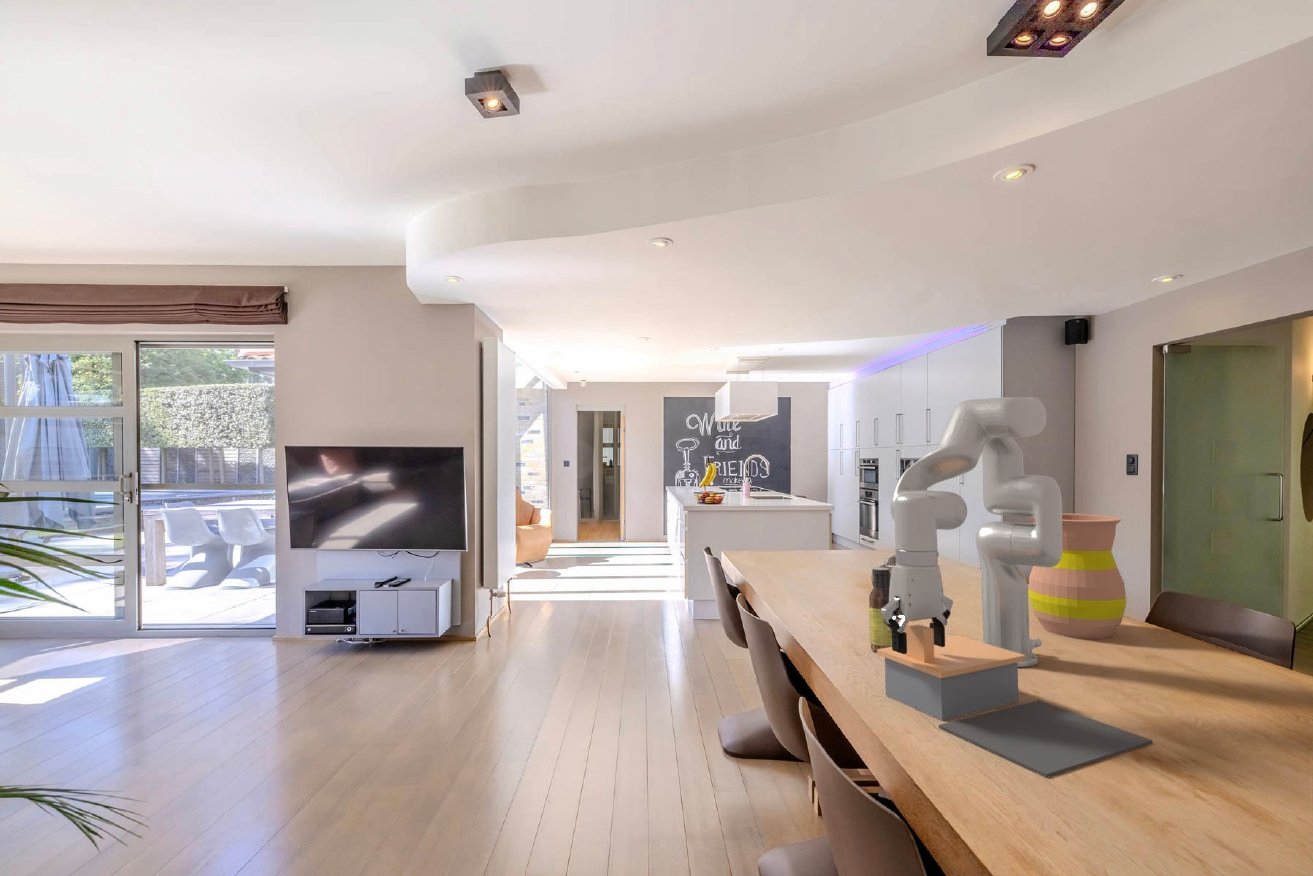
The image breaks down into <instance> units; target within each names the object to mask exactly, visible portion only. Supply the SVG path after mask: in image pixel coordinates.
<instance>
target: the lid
mask: <svg viewBox="0 0 1313 876" xmlns="http://www.w3.org/2000/svg"><path fill="white" fill-rule="evenodd" d="M903 632H905V633H906V634H907V653H906V654H901V653H898V652H896V651H893V650H892V647H888V648H882V649H877V652H876V654H877V655H878V656H881V657H883V658H884V659H885V658H888V659H891V660H893V661H896V662H899V663H901V664H904V665H907V666H909V667H912V668H915V669H917V670H920V671H923V672H925V673H928V674H931V675H933V676H936V677H939V678H946V677H951V676H955V675H960V674H965V673H969V672H974V671H979V670H984V669H988V668H993V667H998V666H1003V665H1007V664H1012V663H1017V662H1021V661H1026V655H1023V654H1019V653H1016V652H1012V651H1009V650H1006V649H1002V648H999V647H995V646H992V645H989V644H985V643H983V641H982V642H981V641H978V640H974V639H971V638H968V637H965V636H962V635H957V634H956V635H949V636H945V647H940V646H937V645H934V631H933V628H930V626H929V627H928V626H926V625H921V624H918V623H915V622H908V624H907V626H906V628H905V630H904V631H903Z"/></svg>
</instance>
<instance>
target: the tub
mask: <svg viewBox="0 0 1313 876" xmlns="http://www.w3.org/2000/svg"><path fill="white" fill-rule="evenodd" d="M1018 668H1019V667H1018V665H1017V663H1012V664H1007V665H1003V666H998V667H993V668H988V669H984V670H979V671H974V672H969V673H965V674H960V675H955V676H951V677H946V678H939V677H936V676H933V675H931V674H928V673H925V672H923V671H920V670H917V669H915V668H912V667H909V666H907V665H904V664H901V663H899V662H896V661H893V660H891V659H888V658H885V657H884V675H885V676H884V677H885V682H884V683H885V684H884V685H885V696H886V695H887V696H886V697H888V696H889V698H890V699H892V698H893V699H892V700H895V701H897V700H898V701H897V702H899V701H900V702H899V703H901V704H903V703H904V705H905V706H908V707H910V708H913V709H915V710H917V711H919V712H921V711H922V713H924V714H926V715H929V716H931V717H933V716H934V717H933V718H935V719H937V718H938V719H937V720H939V719H941V720H943V721H946V720H945V719H947V720H951V719H955V718H958V717H957V716H959V717H963V716H966V715H965V714H967V715H971V713H972V714H975V713H974V712H976V713H980V712H983V711H987V710H992V709H996V708H1000V707H1004V706H1007V705H1011V703H1012V704H1015V703H1018V702H1020V701H1019V672H1018ZM999 706H1000V707H999ZM991 708H992V709H991ZM979 711H980V712H979ZM954 717H955V718H954ZM941 720H940V721H941Z"/></svg>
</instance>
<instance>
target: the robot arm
mask: <svg viewBox="0 0 1313 876" xmlns="http://www.w3.org/2000/svg"><path fill="white" fill-rule="evenodd" d="M1047 415H1048V414H1047V410H1046V407H1045V405H1044V404H1043V402H1042V401H1041V400H1040V399H1039V398H1037V397H1035V396H1028V397H1024V396H1023V397H1018V396H1017V397H1013V396H1012V397H1011V396H1010V397H1009V396H1006V397H1004V396H1003V397H990V398H977V399H968V400H964V401H961V402H959V403H957V405H955V407H954V408H953V410H952V411H951V413H950V416H949V417H948V420H947V422H946V424H945V427H944V429H943V432H942V435H941V436H940V439H939V441H938V443H937V446H936V448H935V449H933V450H931V451H930V452H928V453H926V454H925V455H924V456H922V457H921V458H919V459H918V460H916V462H914V463H913V464H911V465H910V466H909V467H908V468H907V469H906V470H905V471H903V473H902V475H901V476H900V477H899V481H898V483H897V485H896V487H895V488H894V489H895V490H894V491H893V493H892V497H891V501H890V506H889V507H890V515H891V517H892V519H893V521H894V541H895V542H894V544H895V545H894V546H895V548H894V549H895V550H894V551H895V552H894V553H895V565H893V566H892V568H891V571H890V577H889V583H890V588H889V603H888V604H886V605H885V606H884V607H883V608H882V609H881V614H882V616H883V618H884V622H885V623H886V624H887V625H888V627H889V629H890V630H892V650H893V651H896V652H898V653H901V654H906V653H907V634H906V633H905V632H904V630H905V628H906V626H907V624H909V623H910V622H917V621H923V620H928V619H930V620H931V622H929V628H933V631H934V645H937V646H940V647H945V637H946V631H945V630H946V629H945V628H946V627H947V625H948V619H949V617H950V616H951V610H952V608H953V605H954V600H953V599H951V598H949V597H947V596H945V595H944V587H943V586H944V585H943V579H942V573H941V569H940V565H938V563H939V562H938V561H939V559H938V558H939V556H940V553H939V551H938V530H944V531H949V530H955V529H957V528H959V527H960V526H962V525H963V524H964V523H965V521H966V518H967V515H968V506H967V503H966V501H965V500H964V498H963V497H962V496H961V495H960V494H957V493H956V492H953V491H944V490H943V491H942V490H941V491H940V490H927V489H928V488H931V487H932V486H934V485H936V484H937V483H938V484H939V483H941V482H944V481H947V480H951V479H954V478H956V477H959V476H962V475H965V474H966V473H969V472H971V471H973V470H974V469H975V468H976V466H977V465H978V463H979V460H980V457H981V460H982V501H983V505H984V508H985V510H986V511H987V512H988V513H990V514H993V515H997V516H1006V517H1022V518H1023V517H1024V518H1025V517H1026V518H1029V517H1032V518H1034V520H1035V524H1033V522H1032V523H1029V522H1027V523H1026V522H1018V521H1003V520H1002V521H999V520H997V521H996V520H995V521H994V520H993V521H988V522H985V523H983V524H981V525H980V526H979V527H978V528H977V531H976V533H975V544H976V545H975V546H976V550H977V554H978V560H979V566H980V574H981V601H982V602H981V603H982V604H981V605H982V610H981V613H982V638H983V640H982V643H985V644H989V645H992V646H995V647H999V648H1002V649H1006V650H1009V651H1012V652H1016V653H1019V654H1023V655H1026V661H1021V662H1017V665H1018V668H1019V667H1020V668H1021V667H1022V668H1023V667H1024V668H1025V667H1026V668H1027V667H1031V666H1035V665H1037V664H1038V662H1039V658H1038V655H1036V653H1033V649H1035V648H1040V647H1042V645H1043V641H1042V639H1041V638H1030V615H1029V612H1030V611H1029V610H1030V609H1029V595H1028V593H1029V583H1028V581H1027V579H1026V577H1025V575H1024V574H1023V572H1022V571H1021V570H1020V568H1019V567H1018V566H1019V565H1020V566H1029V567H1033V566H1037V567H1053V566H1056V565H1057V564H1058V563H1059V562H1060V560H1061V556H1062V546H1063V538H1062V514H1063V499H1062V492H1061V488H1060V485H1059V484H1058V482H1057V481H1056V480H1055V478H1053V477H1051V476H1048V475H1043V474H1041V475H1040V474H1039V475H1038V474H1025V472H1024V471H1025V470H1024V469H1025V468H1024V453H1023V450H1022V449H1021V447H1020V446H1019V445H1018V443H1017V442H1016V441H1015V440H1014V438H1024V437H1025V438H1026V437H1033V436H1037V435H1039V434H1041V432H1042V431H1043V430H1044V429H1045V427H1046V424H1047V417H1048V416H1047Z"/></svg>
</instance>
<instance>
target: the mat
mask: <svg viewBox="0 0 1313 876" xmlns="http://www.w3.org/2000/svg"><path fill="white" fill-rule="evenodd" d="M938 728H939V730H943V731H945V732H947V733H949V734H951V735H953V736H955V737H957V738H959V739H961V738H962V739H961V740H964V741H966V742H968V741H969V742H968V743H970V744H972V743H973V744H972V745H974V744H975V746H977V747H979V748H982V749H983V750H986V751H988V752H990V753H991V754H994V755H996V754H997V755H996V756H999V757H1000V758H1003V759H1005V760H1007V761H1008V762H1012V763H1014V764H1015V765H1018V766H1020V767H1023V768H1024V769H1026V770H1029V771H1031V772H1033V773H1035V774H1037V773H1038V774H1037V775H1039V774H1040V775H1039V776H1042V777H1044V776H1045V777H1044V778H1049V777H1048V776H1050V777H1052V776H1053V777H1054V776H1055V775H1059V774H1062V773H1066V772H1068V770H1069V771H1072V770H1074V769H1079V768H1082V767H1083V766H1087V765H1090V764H1093V763H1097V762H1098V761H1102V760H1105V759H1108V758H1111V757H1114V756H1117V755H1121V754H1125V753H1127V752H1130V751H1134V750H1137V749H1140V748H1142V747H1143V748H1144V747H1145V746H1149V745H1152V744H1153V742H1154V741H1153V739H1150V738H1147V737H1144V736H1142V735H1138V734H1136V733H1133V732H1130V731H1128V730H1124V729H1123V728H1120V727H1116V726H1113V725H1111V724H1107V723H1105V722H1102V721H1099V720H1096V719H1093V718H1091V717H1088V716H1085V715H1083V714H1080V713H1076V712H1074V711H1071V710H1069V709H1065V708H1062V707H1060V706H1056V705H1054V704H1051V703H1049V702H1045V701H1042V700H1041V699H1040V700H1039V699H1037V700H1033V701H1030V702H1025V703H1023V704H1022V703H1021V704H1017V705H1014V706H1009V707H1006V708H1005V707H1004V708H1001V709H998V710H994V711H989V712H985V713H982V714H977V715H974V716H970V717H966V718H961V719H957V720H954V721H949V722H946V723H940V724H938Z"/></svg>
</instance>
